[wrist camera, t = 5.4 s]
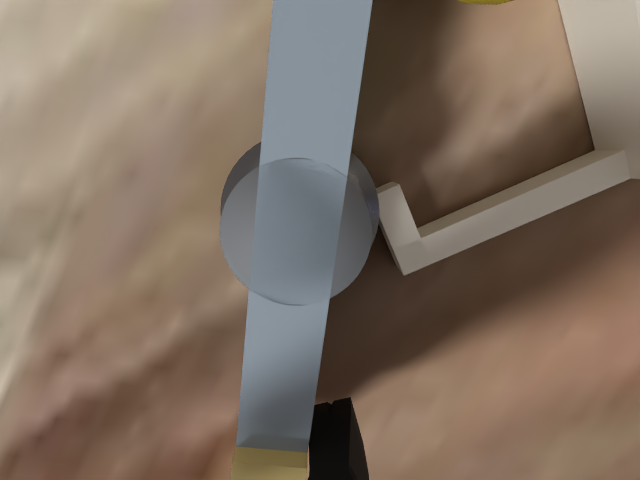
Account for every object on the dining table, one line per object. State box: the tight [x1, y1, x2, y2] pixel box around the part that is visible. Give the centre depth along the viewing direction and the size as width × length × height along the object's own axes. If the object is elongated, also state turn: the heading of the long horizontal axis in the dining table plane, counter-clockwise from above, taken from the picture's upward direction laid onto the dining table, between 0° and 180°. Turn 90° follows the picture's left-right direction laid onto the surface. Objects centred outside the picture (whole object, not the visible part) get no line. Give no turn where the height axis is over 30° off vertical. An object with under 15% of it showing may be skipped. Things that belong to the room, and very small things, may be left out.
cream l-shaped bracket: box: [376, 0, 640, 275], centre depth 10 cm, size 9×11×2 cm
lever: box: [220, 0, 373, 480], centre depth 9 cm, size 4×20×3 cm, turn 173°
